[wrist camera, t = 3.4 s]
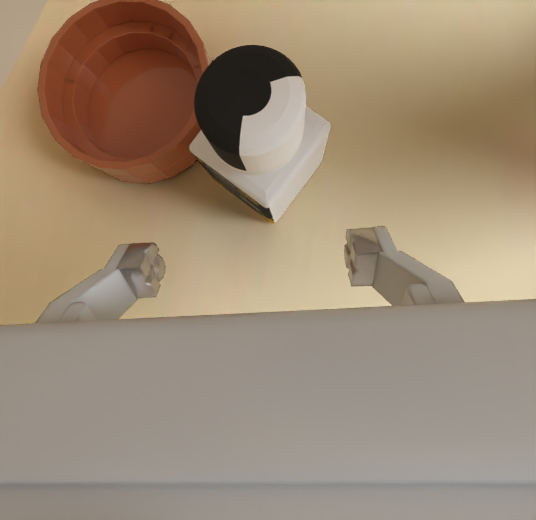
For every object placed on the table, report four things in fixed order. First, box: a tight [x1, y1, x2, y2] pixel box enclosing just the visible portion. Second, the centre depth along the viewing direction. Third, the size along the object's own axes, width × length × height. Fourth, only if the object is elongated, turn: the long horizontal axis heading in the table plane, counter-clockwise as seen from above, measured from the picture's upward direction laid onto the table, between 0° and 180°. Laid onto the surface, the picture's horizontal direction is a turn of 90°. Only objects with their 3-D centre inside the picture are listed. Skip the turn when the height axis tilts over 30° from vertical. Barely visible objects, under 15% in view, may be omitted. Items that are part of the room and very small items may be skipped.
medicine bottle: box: [189, 45, 331, 223], centre depth 21 cm, size 7×7×12 cm
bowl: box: [38, 0, 211, 183], centre depth 26 cm, size 14×14×4 cm
